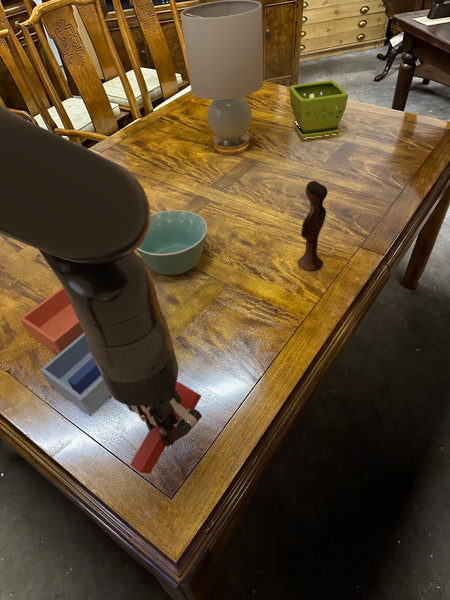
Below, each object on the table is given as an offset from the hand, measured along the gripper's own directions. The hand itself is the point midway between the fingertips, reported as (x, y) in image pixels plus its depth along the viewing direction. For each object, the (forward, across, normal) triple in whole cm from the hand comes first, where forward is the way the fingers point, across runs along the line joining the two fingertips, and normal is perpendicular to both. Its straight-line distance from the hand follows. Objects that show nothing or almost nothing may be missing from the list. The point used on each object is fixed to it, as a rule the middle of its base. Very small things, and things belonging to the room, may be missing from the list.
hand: (165, 435), depth 53 cm
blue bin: (+8, -21, +6) cm, 23 cm away
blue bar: (+7, -21, +5) cm, 23 cm away
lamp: (+7, -50, +84) cm, 98 cm away
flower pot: (+7, -32, +104) cm, 109 cm away
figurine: (+7, -4, +48) cm, 49 cm away
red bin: (+8, -34, +11) cm, 36 cm away
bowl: (+8, -29, +34) cm, 45 cm away
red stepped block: (0, 0, +1) cm, 1 cm away
